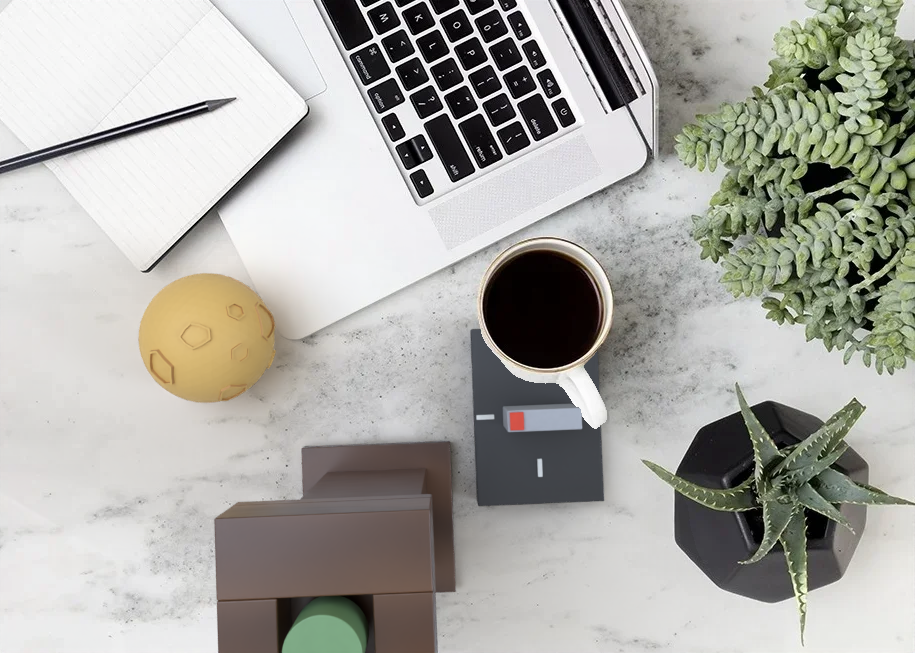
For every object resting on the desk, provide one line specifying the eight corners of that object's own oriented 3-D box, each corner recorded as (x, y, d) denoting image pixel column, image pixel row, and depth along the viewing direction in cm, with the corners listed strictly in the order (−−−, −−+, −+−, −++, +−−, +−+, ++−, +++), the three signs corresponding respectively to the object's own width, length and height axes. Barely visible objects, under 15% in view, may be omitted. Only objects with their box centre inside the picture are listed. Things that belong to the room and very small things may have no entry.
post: (455, 587, 64) (460, 729, 40) (308, 594, 64) (224, 740, 40) (450, 440, 64) (451, 492, 40) (303, 446, 64) (217, 502, 40)
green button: (370, 668, 38) (364, 695, 35) (295, 672, 37) (282, 698, 35) (367, 592, 38) (361, 613, 35) (292, 596, 38) (280, 616, 35)
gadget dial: (571, 403, 62) (582, 407, 57) (572, 423, 62) (583, 429, 57) (502, 406, 62) (507, 410, 57) (503, 426, 62) (508, 432, 57)
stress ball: (144, 361, 64) (88, 363, 54) (204, 257, 64) (160, 240, 54) (249, 421, 64) (213, 434, 54) (309, 317, 64) (284, 310, 54)
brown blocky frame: (440, 730, 40) (440, 772, 36) (244, 739, 40) (221, 782, 36) (432, 493, 40) (430, 509, 36) (237, 501, 40) (213, 518, 36)
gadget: (598, 495, 64) (604, 501, 62) (476, 500, 64) (478, 506, 61) (590, 325, 65) (596, 324, 62) (470, 330, 65) (471, 329, 62)
